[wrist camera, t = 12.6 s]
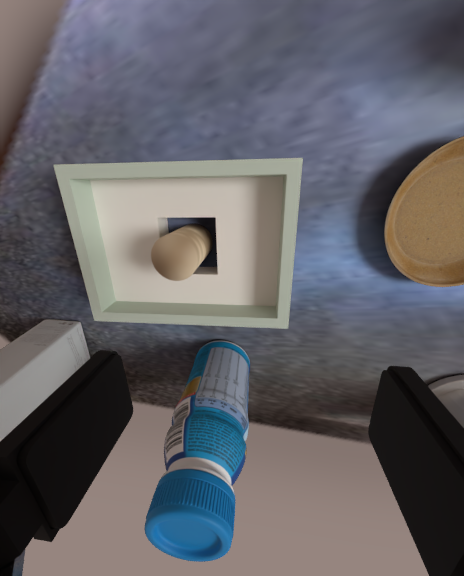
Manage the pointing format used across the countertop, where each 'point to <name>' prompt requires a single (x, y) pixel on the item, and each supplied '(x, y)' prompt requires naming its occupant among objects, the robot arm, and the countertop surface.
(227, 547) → the beverage bottle
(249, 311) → the tray
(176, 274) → the peg
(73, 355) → the skincare box
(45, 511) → the robot arm
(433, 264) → the plant saucer
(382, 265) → the countertop surface
